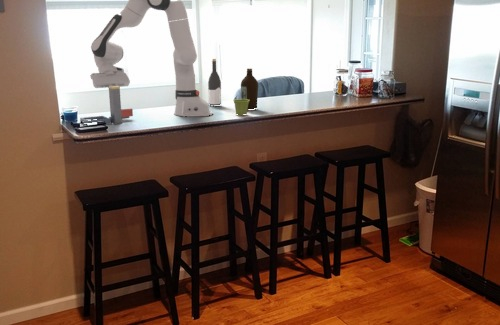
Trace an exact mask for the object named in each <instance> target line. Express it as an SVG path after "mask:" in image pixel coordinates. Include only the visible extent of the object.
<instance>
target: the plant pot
mask: <svg viewBox="0 0 500 325" xmlns="http://www.w3.org/2000/svg"><path fill="white" fill-rule="evenodd" d="M249 101H250V100H247V99H241V98H236V99H235V98H234V99H233V103H234V108H235V115H236V114H238V115H241V116H243V115H242V114H247V115H248V111H247V109H248V104H249ZM238 115H237V116H238Z"/></svg>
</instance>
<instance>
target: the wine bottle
mask: <svg viewBox="0 0 500 325" xmlns="http://www.w3.org/2000/svg"><path fill="white" fill-rule="evenodd" d="M211 62H212V63H211V64H212V65H211V66H212V71H211V73H210V76H209V78H208V83H207V86H208V105H209V104H210V105H220V104H221V105H222V82H221V77H220V75H219V74H218V71H217V58H212V61H211Z"/></svg>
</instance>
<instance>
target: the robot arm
mask: <svg viewBox="0 0 500 325" xmlns="http://www.w3.org/2000/svg"><path fill="white" fill-rule="evenodd" d="M151 8H152V9H153V10H157V11H164V12H165V14H166V17H167V23H168V28H169V32H170V33H169V34H170V37H171V41H172V43H173V47H174V50H173V53H172V54H173V55H172V56H173V65H174V74H175V93H174V94H175V95H174V96H175V97H174V98H175V107H174V113H173V114H174V115H175V116H179V117H184V118H185V116H187V117H210V116H213V115H214V112H213V111H212V110H210V106H209V102H207V101H206V100H204V99H203V98H202V97H201V96H200V91H199V90H198V89H196V74H195V69H194V64H195V63H196V61H197V59H198V58H197V57H198V55H197V50H196V48H195V43H194V40H193V37H192V33H191V29H190V28H191V27H190V23H189V18H188V13H187V9H186V6H185V4H184V2H183V1H182V0H128V1H127V3H126V4H125V6H124V7H123V9H122V10H121V11H120V12H119V13H117V14H114V15H113V17H111V19H110V20H109V22H108V23H107V24H106V26H105V27H104V28H103V30H102V31H101V33H100V34H98V36H97V37H96V38H95V39H94V40H93V41H92V43H91V46H90V48H91V52H92V54H93V59H94V62H95V65H96V67H97V68H98V72H93V73H91V74H90V78H91V80H92V85H93V87H94V88H96V89H100V88H102V89H103V88H104V89H105V88H107V89H109V87H111V86H118V87H129V85H130V84H131V80H130V78H129V76H128V74H127V73H126V72H125V69H124V68H122V67H119V66H115V65H117V63H119V62H120V61H121V60H122V59H123V58H124V49H123V47H122V46H121V45H119V44H116V43H114V42H111V41H110V40H111V39H112V37H113V36H114V34H115V33H116V32H117V31H118V30H119V29H122V28H134V27H137V26H139V25H140V23H142V21H143V19H144V17H145V16H146V14H147V12H148V10H150V9H151ZM212 114H213V115H212ZM209 115H210V116H209Z"/></svg>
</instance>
